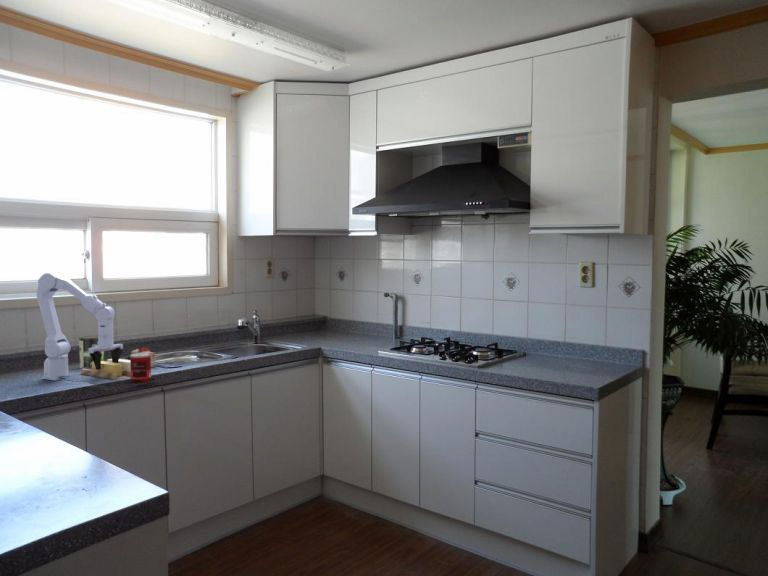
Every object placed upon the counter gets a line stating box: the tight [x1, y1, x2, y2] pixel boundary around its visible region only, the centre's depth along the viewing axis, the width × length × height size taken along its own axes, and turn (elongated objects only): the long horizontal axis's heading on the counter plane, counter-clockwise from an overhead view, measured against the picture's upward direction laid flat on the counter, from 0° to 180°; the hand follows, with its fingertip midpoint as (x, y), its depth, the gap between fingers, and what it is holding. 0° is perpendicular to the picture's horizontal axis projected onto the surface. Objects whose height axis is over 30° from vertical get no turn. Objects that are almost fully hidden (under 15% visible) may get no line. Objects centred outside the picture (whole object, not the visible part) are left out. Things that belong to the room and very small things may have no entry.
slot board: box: [80, 368, 131, 380], centre depth 253 cm, size 22×16×4 cm
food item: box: [130, 346, 157, 368], centre depth 271 cm, size 14×8×10 cm, turn 46°
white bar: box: [106, 358, 131, 371], centre depth 256 cm, size 14×4×5 cm, turn 60°
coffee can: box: [78, 335, 105, 369], centre depth 275 cm, size 10×10×14 cm
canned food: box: [129, 353, 152, 384], centre depth 244 cm, size 8×8×11 cm
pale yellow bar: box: [91, 360, 122, 377], centre depth 250 cm, size 14×4×5 cm, turn 60°
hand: (106, 367), depth 250 cm, fingers open, 7 cm apart
